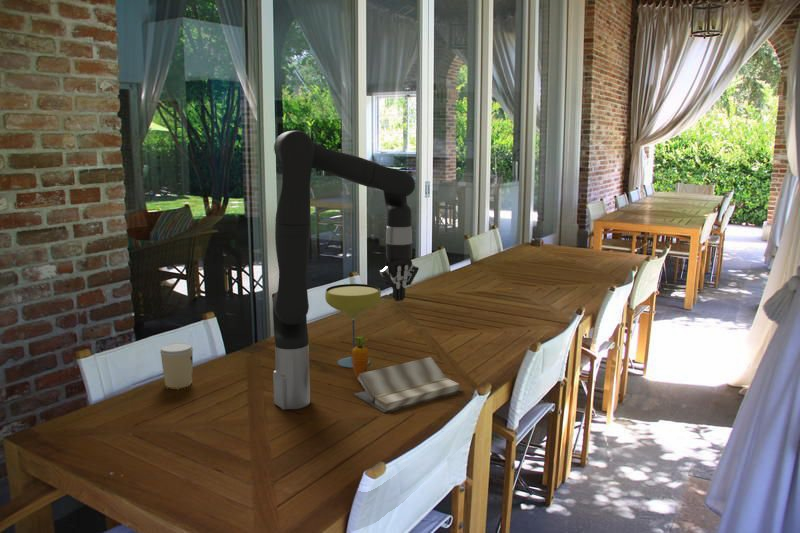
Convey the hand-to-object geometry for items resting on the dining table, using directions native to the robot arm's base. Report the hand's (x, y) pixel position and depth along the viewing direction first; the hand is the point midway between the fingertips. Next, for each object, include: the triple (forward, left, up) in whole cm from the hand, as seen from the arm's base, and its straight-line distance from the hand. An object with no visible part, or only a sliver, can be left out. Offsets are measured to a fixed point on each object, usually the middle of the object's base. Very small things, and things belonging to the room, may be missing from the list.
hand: (398, 300), depth 194 cm
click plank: (0, -2, -24) cm, 24 cm away
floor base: (0, -5, -27) cm, 27 cm away
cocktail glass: (+1, +28, -27) cm, 39 cm away
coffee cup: (-53, +41, -27) cm, 72 cm away
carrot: (-7, +11, -27) cm, 30 cm away
